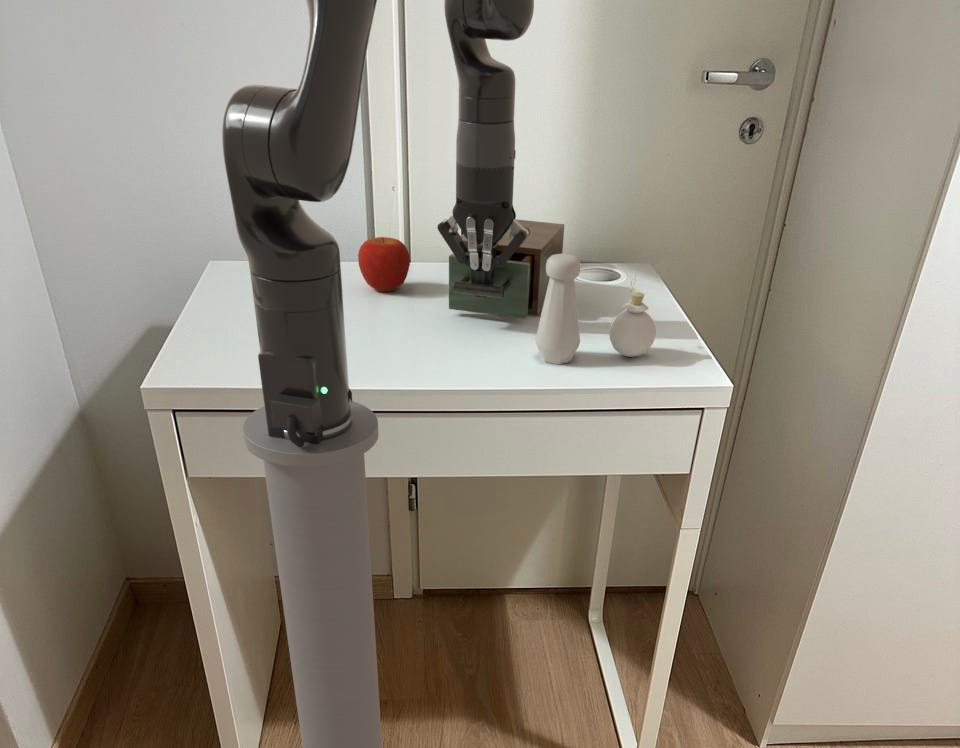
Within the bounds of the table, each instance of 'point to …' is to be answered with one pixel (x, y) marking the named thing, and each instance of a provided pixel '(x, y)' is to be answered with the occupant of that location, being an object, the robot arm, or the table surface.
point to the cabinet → (537, 254)
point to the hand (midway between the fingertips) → (482, 296)
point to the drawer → (494, 287)
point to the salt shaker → (559, 311)
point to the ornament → (633, 327)
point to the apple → (384, 263)
